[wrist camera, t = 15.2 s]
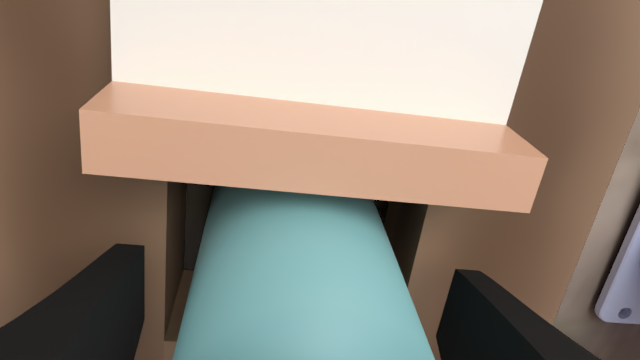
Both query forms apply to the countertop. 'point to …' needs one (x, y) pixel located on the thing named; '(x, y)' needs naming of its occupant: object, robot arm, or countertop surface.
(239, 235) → the peg
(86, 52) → the socket block
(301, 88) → the panel
